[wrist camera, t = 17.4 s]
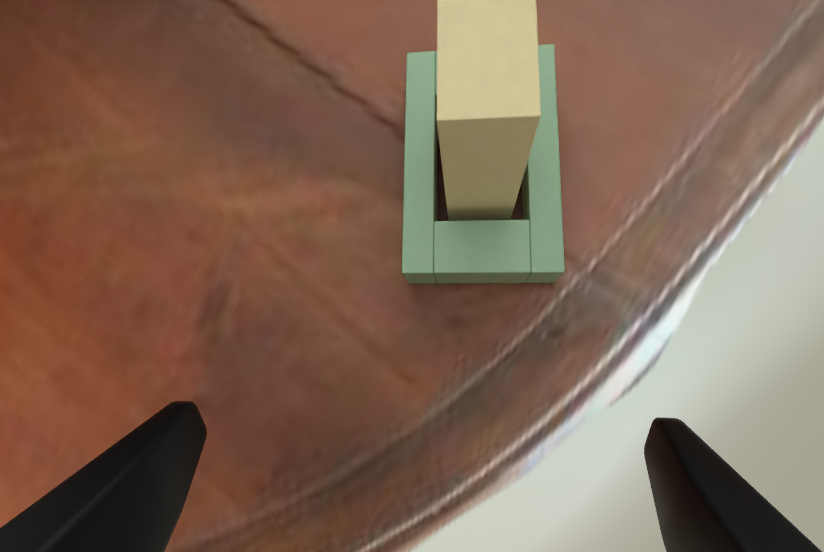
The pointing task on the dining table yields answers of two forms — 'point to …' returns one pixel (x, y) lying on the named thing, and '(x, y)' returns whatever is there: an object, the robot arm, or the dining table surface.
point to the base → (479, 239)
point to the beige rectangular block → (486, 103)
